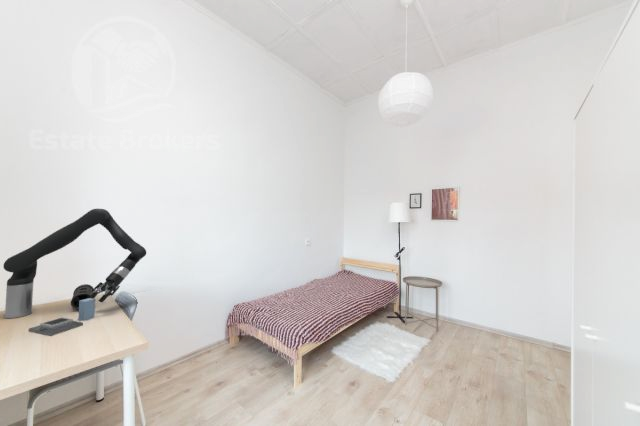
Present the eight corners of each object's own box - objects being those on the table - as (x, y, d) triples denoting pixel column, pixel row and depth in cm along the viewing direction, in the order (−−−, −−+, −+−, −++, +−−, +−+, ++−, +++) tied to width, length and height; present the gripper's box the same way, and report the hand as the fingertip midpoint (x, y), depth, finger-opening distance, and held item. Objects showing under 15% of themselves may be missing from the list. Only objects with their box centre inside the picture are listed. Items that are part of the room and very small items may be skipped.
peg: (78, 319, 127) (79, 300, 127) (88, 316, 131) (89, 298, 131) (84, 320, 125) (85, 301, 126) (94, 317, 130) (95, 299, 130)
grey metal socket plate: (28, 331, 113) (28, 324, 113) (61, 321, 124) (62, 314, 125) (50, 336, 109) (50, 328, 109) (82, 325, 120) (83, 318, 120)
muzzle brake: (69, 313, 136) (70, 294, 136) (73, 300, 156) (74, 284, 157) (92, 309, 142) (93, 291, 143) (93, 297, 163) (94, 282, 163)
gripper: (104, 271, 143) (80, 296, 131) (122, 272, 139) (98, 298, 127) (114, 278, 148) (91, 302, 136) (131, 279, 144) (109, 305, 132)
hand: (94, 300), depth 132 cm, fingers open, 8 cm apart
